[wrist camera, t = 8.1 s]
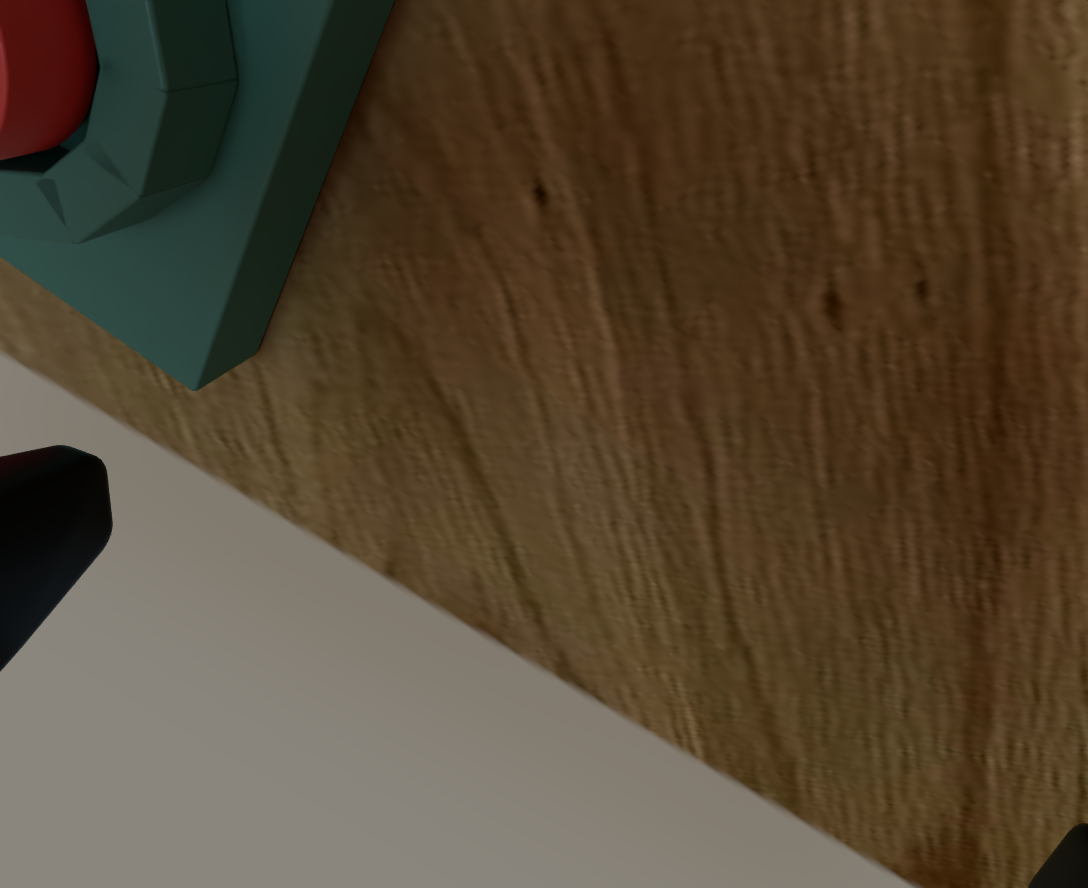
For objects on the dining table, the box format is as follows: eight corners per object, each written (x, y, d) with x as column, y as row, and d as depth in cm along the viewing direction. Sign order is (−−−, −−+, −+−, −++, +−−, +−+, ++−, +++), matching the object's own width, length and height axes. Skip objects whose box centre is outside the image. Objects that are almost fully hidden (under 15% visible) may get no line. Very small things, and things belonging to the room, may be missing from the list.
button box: (257, 355, 20) (132, 432, 17) (-67, 129, 20) (-254, 163, 17) (460, -162, 14) (326, -198, 11) (-3, -479, 14) (-274, -610, 11)
